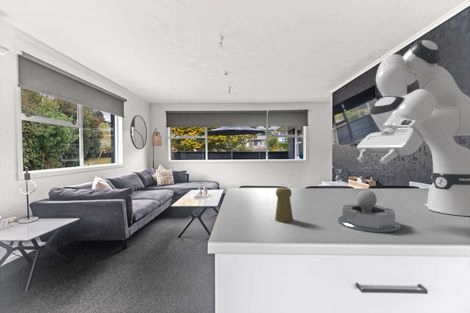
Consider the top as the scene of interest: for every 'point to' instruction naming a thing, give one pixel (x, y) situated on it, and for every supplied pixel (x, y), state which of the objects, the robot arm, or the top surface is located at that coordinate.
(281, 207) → the cork
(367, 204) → the light bulb
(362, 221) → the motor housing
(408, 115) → the robot arm
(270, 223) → the top surface
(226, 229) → the top surface
